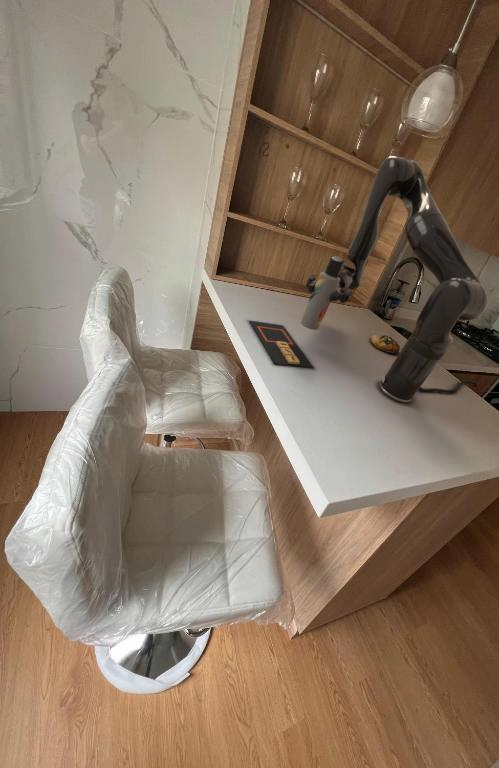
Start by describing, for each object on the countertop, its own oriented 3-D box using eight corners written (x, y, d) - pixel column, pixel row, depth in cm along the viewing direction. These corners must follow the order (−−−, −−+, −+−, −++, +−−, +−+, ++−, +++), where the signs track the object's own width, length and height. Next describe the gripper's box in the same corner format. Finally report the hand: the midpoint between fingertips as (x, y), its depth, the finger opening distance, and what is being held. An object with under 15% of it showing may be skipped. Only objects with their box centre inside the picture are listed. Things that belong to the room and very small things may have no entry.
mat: (249, 321, 104) (250, 317, 104) (282, 326, 109) (283, 323, 108) (274, 364, 86) (276, 360, 86) (312, 368, 91) (314, 364, 90)
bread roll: (404, 355, 120) (410, 343, 117) (380, 356, 116) (385, 344, 113) (385, 340, 128) (390, 329, 126) (362, 341, 125) (366, 329, 122)
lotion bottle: (321, 327, 98) (351, 261, 87) (313, 332, 93) (344, 262, 82) (305, 319, 100) (332, 252, 89) (297, 323, 95) (324, 253, 84)
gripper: (319, 263, 102) (302, 269, 88) (363, 281, 99) (352, 291, 85) (310, 286, 106) (292, 295, 93) (351, 304, 103) (339, 317, 89)
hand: (321, 293), depth 89 cm, fingers closed on lotion bottle, 5 cm apart
